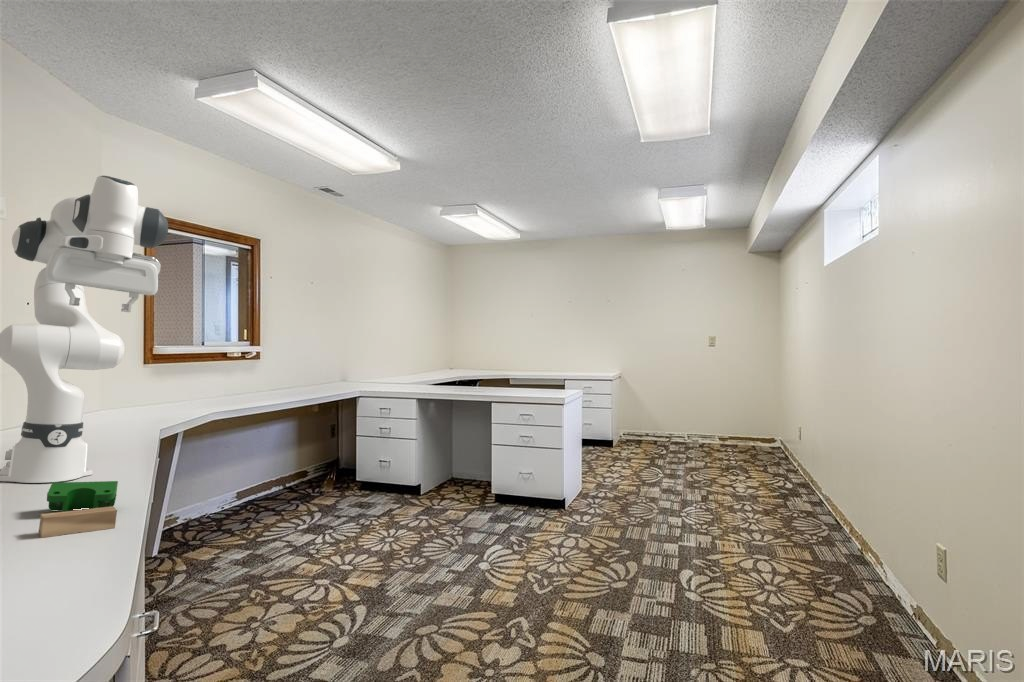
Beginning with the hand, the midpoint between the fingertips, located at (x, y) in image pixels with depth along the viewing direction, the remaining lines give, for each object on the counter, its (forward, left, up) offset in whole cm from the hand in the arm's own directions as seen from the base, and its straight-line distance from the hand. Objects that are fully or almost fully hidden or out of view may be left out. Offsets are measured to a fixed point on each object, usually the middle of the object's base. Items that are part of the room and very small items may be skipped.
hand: (100, 308), depth 119 cm
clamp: (+6, 0, -44) cm, 44 cm away
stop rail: (+20, -3, -43) cm, 48 cm away
